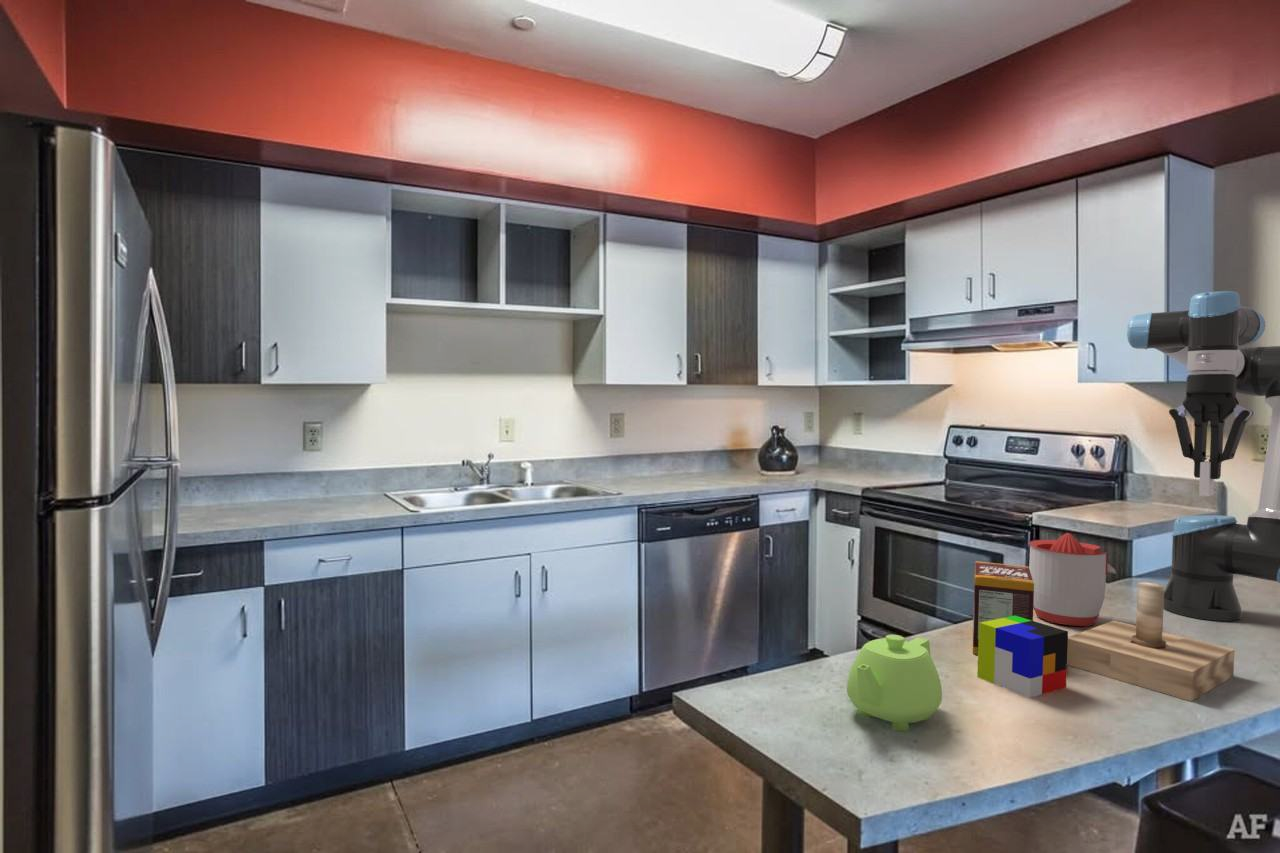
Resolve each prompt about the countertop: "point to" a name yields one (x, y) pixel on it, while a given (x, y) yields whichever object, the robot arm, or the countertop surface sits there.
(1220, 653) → the seat board
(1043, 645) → the puzzle toy
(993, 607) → the supplement box
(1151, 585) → the leg peg
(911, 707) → the teapot
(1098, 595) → the citrus juicer
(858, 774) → the countertop surface
